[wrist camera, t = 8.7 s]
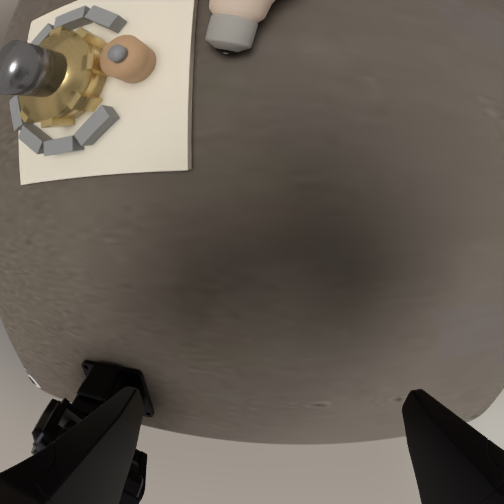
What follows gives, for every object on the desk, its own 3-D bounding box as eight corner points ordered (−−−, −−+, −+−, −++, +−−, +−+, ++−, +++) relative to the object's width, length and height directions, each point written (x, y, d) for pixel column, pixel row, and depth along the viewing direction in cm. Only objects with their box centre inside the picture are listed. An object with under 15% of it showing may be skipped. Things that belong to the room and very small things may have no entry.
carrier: (191, 169, 17) (173, 175, 14) (28, 182, 18) (-5, 192, 14) (200, -23, 13) (187, -53, 9) (38, 24, 13) (9, 13, 9)
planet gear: (111, 118, 15) (44, 113, 9) (36, 134, 16) (-30, 141, 9) (118, 24, 13) (63, -12, 7) (42, 50, 13) (-18, 36, 7)
